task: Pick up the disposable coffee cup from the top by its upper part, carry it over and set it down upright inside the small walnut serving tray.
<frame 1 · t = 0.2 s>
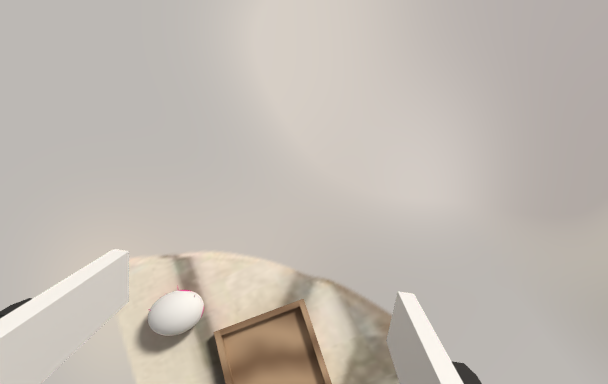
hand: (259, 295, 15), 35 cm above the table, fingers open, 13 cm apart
tray: (274, 362, 45), on the table
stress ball: (182, 308, 47), on the table
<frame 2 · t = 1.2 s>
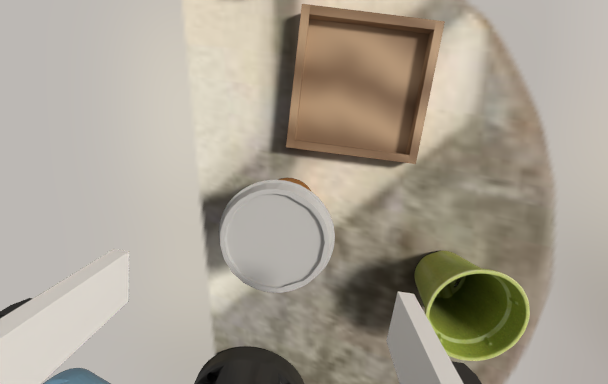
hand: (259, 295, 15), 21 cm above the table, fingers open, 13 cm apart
disposable coffee cup: (288, 204, 36), on the table
plant pot: (439, 272, 37), on the table
tray: (358, 90, 33), on the table
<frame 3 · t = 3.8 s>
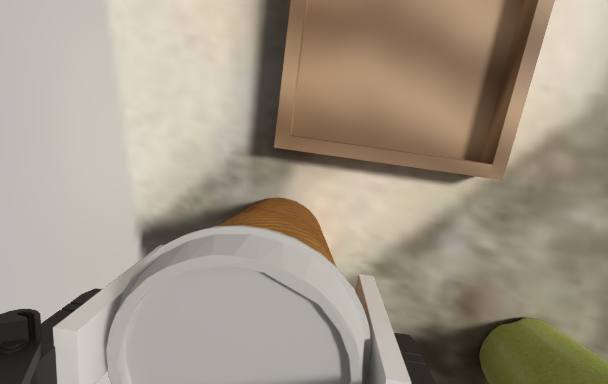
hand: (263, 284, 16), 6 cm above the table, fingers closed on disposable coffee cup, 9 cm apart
disposable coffee cup: (279, 239, 22), on the table, touching gripper
plant pot: (518, 349, 23), on the table
tray: (401, 49, 19), on the table
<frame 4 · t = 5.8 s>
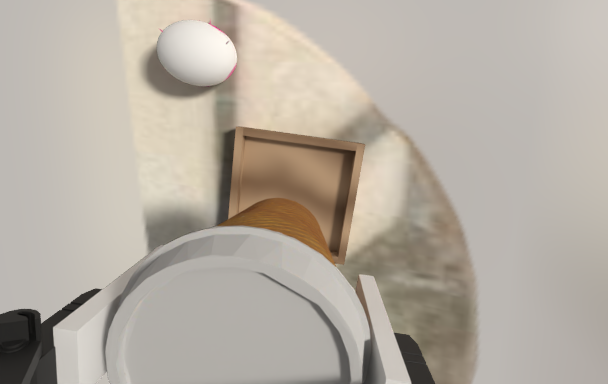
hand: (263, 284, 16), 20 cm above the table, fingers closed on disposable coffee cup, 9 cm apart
disposable coffee cup: (278, 239, 22), point 14 cm above the table, touching gripper
tray: (293, 194, 35), on the table
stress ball: (209, 54, 33), on the table
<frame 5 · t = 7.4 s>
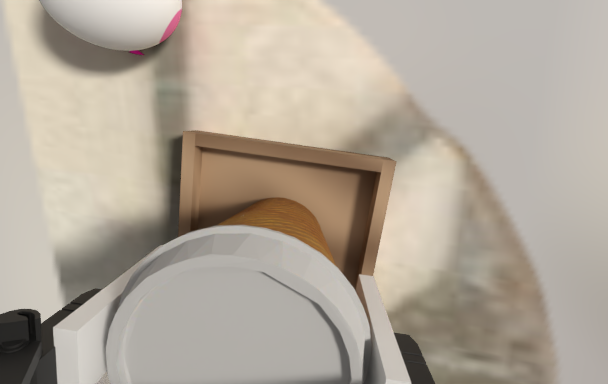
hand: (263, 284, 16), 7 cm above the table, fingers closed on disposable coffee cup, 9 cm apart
disposable coffee cup: (279, 238, 22), point 1 cm above the table, touching gripper
tray: (280, 234, 23), on the table
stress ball: (142, 2, 20), on the table
when the fingers open (7 cm above the table, at t = 8.3 s): disposable coffee cup stays where it is, resting on tray.
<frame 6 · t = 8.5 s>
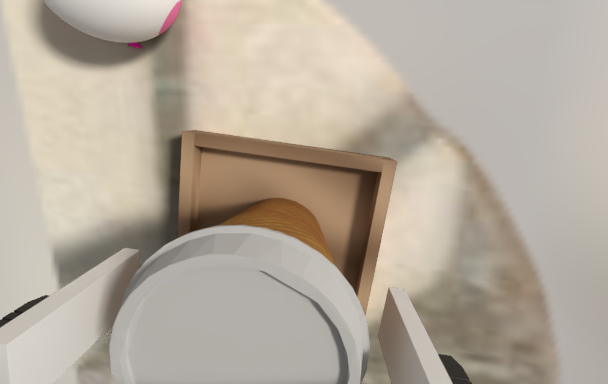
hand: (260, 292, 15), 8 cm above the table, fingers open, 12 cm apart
disposable coffee cup: (279, 238, 22), point 1 cm above the table, touching tray
tray: (280, 235, 23), on the table
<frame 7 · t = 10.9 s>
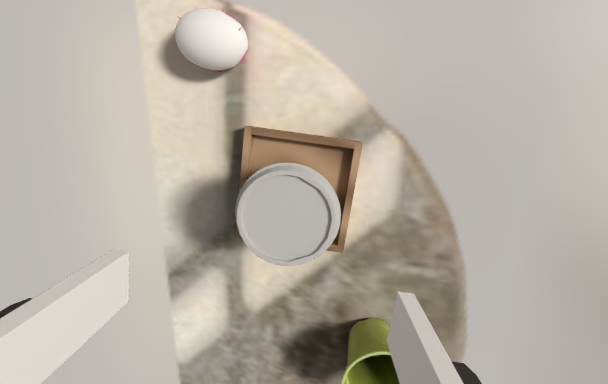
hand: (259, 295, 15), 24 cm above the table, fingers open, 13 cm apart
disposable coffee cup: (296, 189, 38), point 1 cm above the table, touching tray
plant pot: (370, 334, 43), on the table
tray: (297, 188, 39), on the table
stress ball: (221, 41, 35), on the table
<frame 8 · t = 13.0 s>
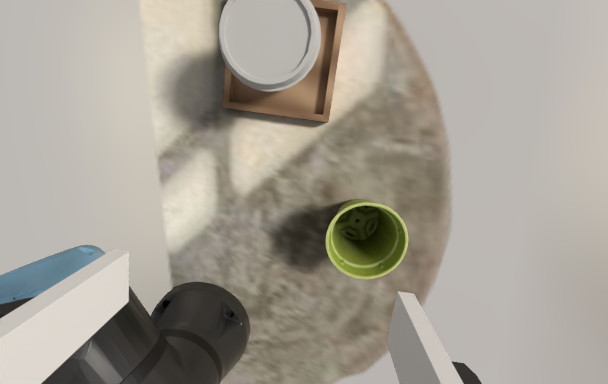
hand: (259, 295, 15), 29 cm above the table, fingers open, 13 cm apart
disposable coffee cup: (283, 60, 39), point 1 cm above the table, touching tray
plant pot: (357, 218, 44), on the table
tray: (283, 61, 39), on the table
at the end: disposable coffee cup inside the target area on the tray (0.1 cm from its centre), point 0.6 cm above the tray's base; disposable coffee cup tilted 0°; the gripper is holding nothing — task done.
